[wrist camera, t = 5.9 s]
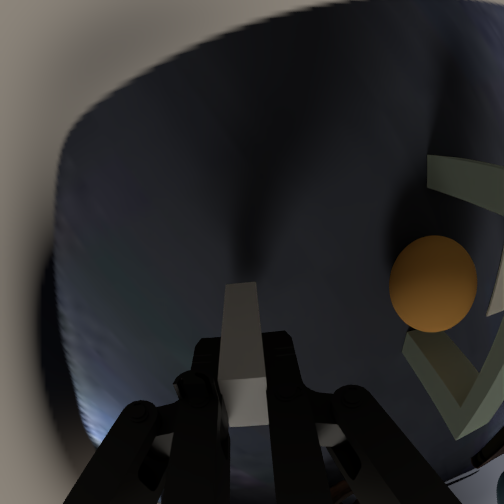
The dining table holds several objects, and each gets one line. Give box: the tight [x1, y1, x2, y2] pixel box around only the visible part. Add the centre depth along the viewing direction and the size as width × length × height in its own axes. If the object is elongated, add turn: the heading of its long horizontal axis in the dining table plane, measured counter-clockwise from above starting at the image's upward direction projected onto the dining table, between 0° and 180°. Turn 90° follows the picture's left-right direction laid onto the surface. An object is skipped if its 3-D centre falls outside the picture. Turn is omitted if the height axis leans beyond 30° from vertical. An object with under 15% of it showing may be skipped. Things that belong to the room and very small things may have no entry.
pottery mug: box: [330, 480, 360, 504], centre depth 26 cm, size 12×10×8 cm
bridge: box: [402, 155, 504, 440], centre depth 12 cm, size 3×14×9 cm, turn 5°
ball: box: [389, 235, 477, 332], centre depth 14 cm, size 6×6×6 cm
